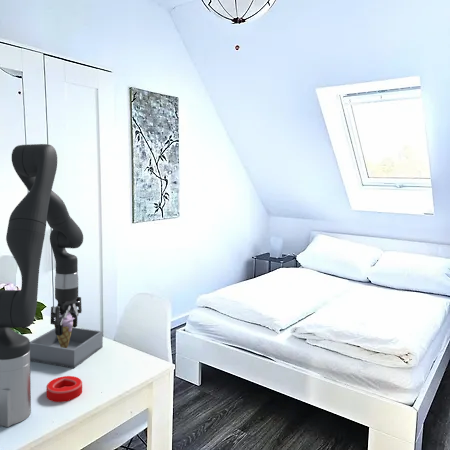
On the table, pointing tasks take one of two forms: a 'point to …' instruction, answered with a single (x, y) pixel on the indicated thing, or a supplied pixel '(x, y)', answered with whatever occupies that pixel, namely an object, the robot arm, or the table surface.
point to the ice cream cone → (66, 331)
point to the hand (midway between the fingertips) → (66, 330)
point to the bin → (72, 355)
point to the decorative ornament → (64, 389)
